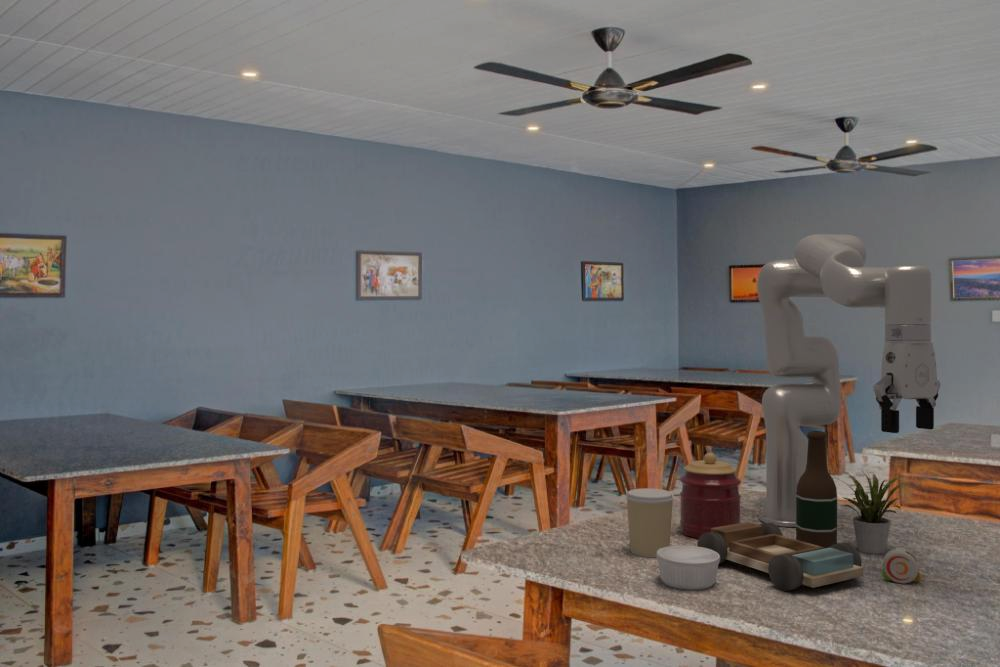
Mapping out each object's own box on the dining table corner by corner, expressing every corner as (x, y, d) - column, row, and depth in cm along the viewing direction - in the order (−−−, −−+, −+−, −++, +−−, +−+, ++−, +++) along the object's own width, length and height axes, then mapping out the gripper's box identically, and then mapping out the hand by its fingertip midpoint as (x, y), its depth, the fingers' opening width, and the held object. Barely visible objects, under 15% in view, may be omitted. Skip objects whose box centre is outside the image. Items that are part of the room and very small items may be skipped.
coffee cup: (678, 548, 180) (678, 490, 180) (666, 560, 171) (666, 499, 171) (633, 544, 184) (633, 486, 184) (620, 555, 175) (620, 495, 175)
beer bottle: (836, 546, 181) (836, 429, 181) (837, 556, 174) (837, 434, 173) (796, 543, 184) (796, 428, 183) (796, 553, 176) (796, 433, 176)
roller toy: (883, 575, 161) (883, 543, 161) (921, 580, 158) (921, 548, 158) (880, 581, 157) (881, 549, 157) (920, 586, 154) (920, 554, 154)
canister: (719, 524, 201) (719, 447, 200) (753, 538, 188) (753, 455, 188) (668, 529, 197) (668, 450, 196) (699, 543, 184) (699, 459, 184)
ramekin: (708, 596, 150) (708, 565, 150) (646, 585, 156) (646, 556, 156) (728, 579, 159) (728, 550, 159) (669, 570, 165) (669, 542, 165)
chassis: (690, 558, 172) (690, 528, 172) (753, 547, 181) (753, 517, 181) (804, 598, 148) (804, 562, 148) (871, 582, 157) (871, 549, 157)
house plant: (927, 550, 178) (928, 469, 178) (903, 564, 168) (904, 479, 167) (856, 538, 188) (856, 461, 187) (829, 551, 178) (830, 470, 177)
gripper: (895, 336, 150) (895, 436, 151) (957, 334, 159) (956, 429, 159) (857, 335, 157) (857, 431, 157) (919, 334, 166) (919, 425, 166)
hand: (907, 430), depth 158 cm, fingers open, 9 cm apart
